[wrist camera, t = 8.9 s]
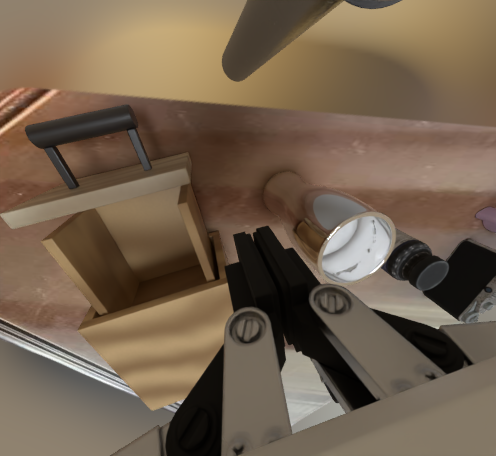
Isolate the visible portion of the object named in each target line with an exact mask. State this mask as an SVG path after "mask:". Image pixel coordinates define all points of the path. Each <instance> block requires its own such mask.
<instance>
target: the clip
mask: <svg viewBox="0 0 496 456" xmlns="http://www.w3.org/2000/svg"><path fill="white" fill-rule="evenodd" d="M476 218H478V219H481V220H483V225H484V227H485V228H486V229H487V230H490V231H492V232H495V233H496V208H493V207H487V208H485V209H483V210H481V211H479V212H478V213H477V214H476Z"/></svg>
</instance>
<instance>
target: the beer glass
mask: <svg viewBox="0 0 496 456" xmlns="http://www.w3.org/2000/svg"><path fill="white" fill-rule="evenodd" d="M263 201H264V204H265V206H266V208H267V209H268V210H269V211H270V212H272V213H273V214H275V215H277V216H278V217H279V218H280V220H281V223H282V225H283V228H284V230H285V232H286V234H287V236H288V238H289V240H290V241H291V243H292V244H293V246H294V247H295V249H296V250H297V251H298V252H299V254H300V255H301V256H302V257H303V258H304V259H305V260H306V261H307V262H308V263H309V264H310V265H311V266H312V267H313V268H314V269H315V270H316V271H317V272H318V273H319V274H320V275H321V277H322V278H323V279H324V280H325V281H326V282H328V283H330V284H336V285H339V286H349V285H353V284H356V283H359V282H361V281H363V280H365V279H367V278H369V277H370V276H372V275H373V274H374V273H375V272H377V271H378V270H379V269H380V268H381V267H382V266H383V264H384V263H385V262H386V261H387V259H388V258H389V256H390V254H391V253H392V250H393V248H394V245H395V241H396V229H395V226H394V224H393V222H392V220H391V219H390V218H389V217H388V216H386V215H384V214H382V213H380V212H378V211H377V210H375V209H374V208H372V207H370V206H369V205H367V204H366V203H364V202H362V201H361V200H359V199H357V198H355V197H353V196H351V195H349V194H347V193H344V192H342V191H340V190H337V189H334V188H330V187H326V186H320V185H314V184H309V183H306V182H305V181H304V180H303V179H302V178H301V177H300V176H299V175H298V174H296V173H294V172H289V171H285V172H280V173H278V174H276V175H274V176H273V177H272V178H271V179H270V180H269V181H268V182H267V184H266V186H265V188H264V191H263Z"/></svg>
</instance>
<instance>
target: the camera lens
mask: <svg viewBox="0 0 496 456" xmlns="http://www.w3.org/2000/svg"><path fill="white" fill-rule="evenodd" d="M395 229H396V228H395ZM381 268H382V269H383V270H384V271H386V272H387V273H388V274H390V275H391V276H392V277H394V278H395V279H397V280H403V281H405V280H409V283H410V284H411V285H413V286H414V287H416V288H417V289H419V290H422V291H425V290H429V289H431V288H433V287H435V286H437V285H438V284H439V283H440V282H441V281H442V280H443V279H444V278H445V276H446V275H447V272H448V270H449V265H448V263H447V262H446V261H444V260H442V259H441V258H439V257H438V256H432V252H431V249H430V248H429V246H428V245H426V244H425V243H423V242H421V241H419V240H417V239H415V238H413V237H411V236H409V235H407V234H405V233H404V232H402V231H400V230H398V229H396V241H395V245H394V248H393V250H392V253H391V254H390V256H389V258H388V259H387V261H386V262H385V263H384V264H383V266H382V267H381Z"/></svg>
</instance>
